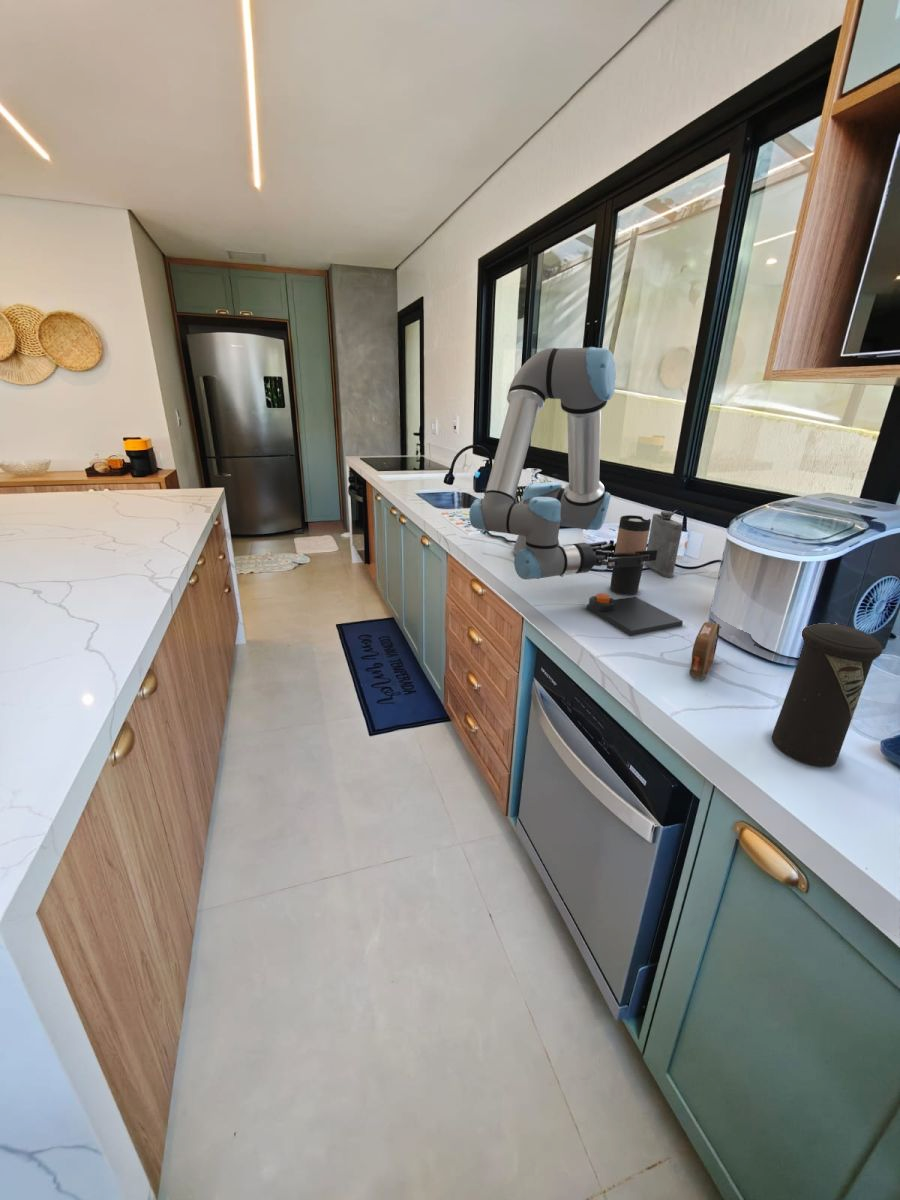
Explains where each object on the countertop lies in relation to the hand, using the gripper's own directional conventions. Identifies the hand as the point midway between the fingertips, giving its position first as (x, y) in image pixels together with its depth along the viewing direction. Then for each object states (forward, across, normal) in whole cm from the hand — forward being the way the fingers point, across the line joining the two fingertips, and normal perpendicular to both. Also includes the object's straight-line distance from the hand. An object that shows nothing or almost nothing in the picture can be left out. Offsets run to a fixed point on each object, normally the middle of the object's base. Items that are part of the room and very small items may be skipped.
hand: (644, 550), depth 135 cm
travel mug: (-5, 0, -11) cm, 12 cm away
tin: (-19, +39, -11) cm, 45 cm away
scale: (-15, +15, -11) cm, 24 cm away
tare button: (-20, +10, -8) cm, 24 cm away
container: (-24, +63, -11) cm, 68 cm away
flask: (+17, -11, -11) cm, 23 cm away
